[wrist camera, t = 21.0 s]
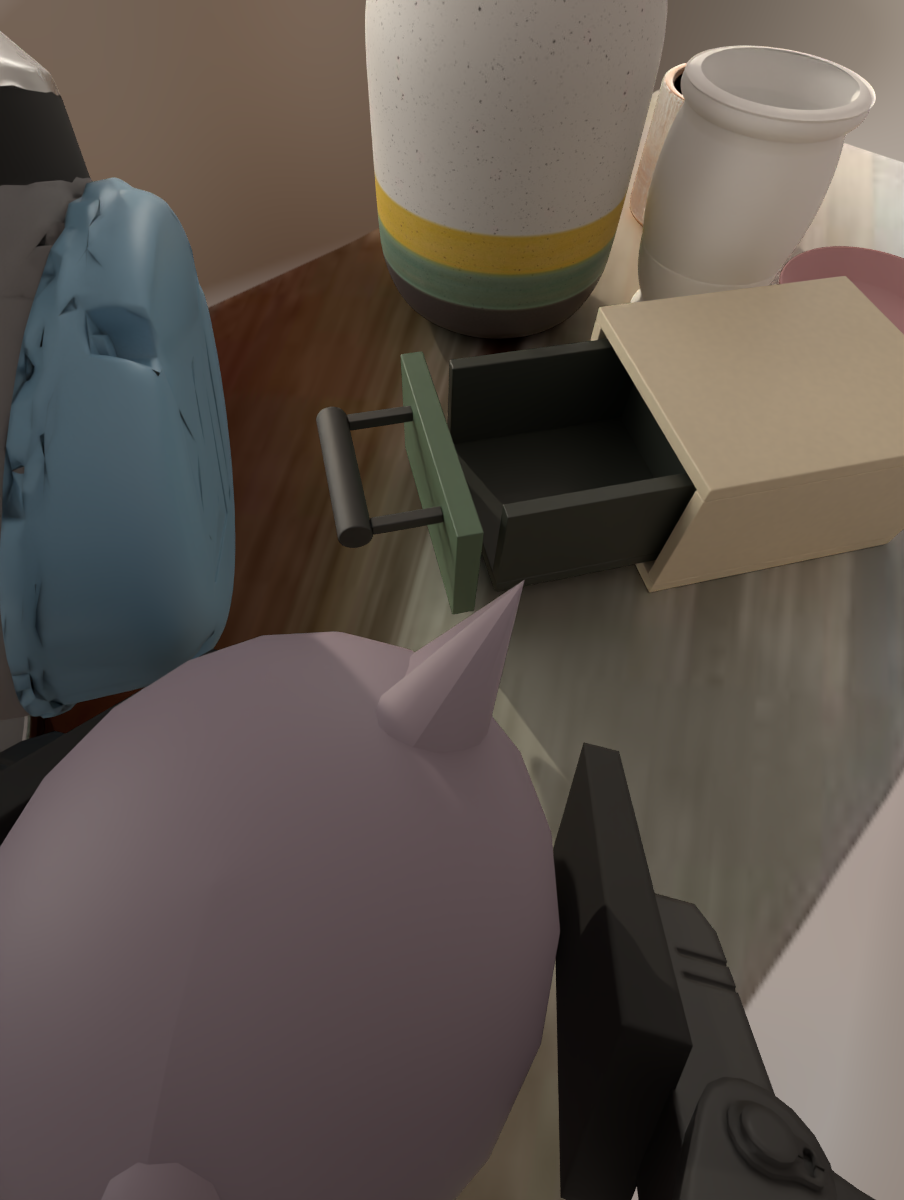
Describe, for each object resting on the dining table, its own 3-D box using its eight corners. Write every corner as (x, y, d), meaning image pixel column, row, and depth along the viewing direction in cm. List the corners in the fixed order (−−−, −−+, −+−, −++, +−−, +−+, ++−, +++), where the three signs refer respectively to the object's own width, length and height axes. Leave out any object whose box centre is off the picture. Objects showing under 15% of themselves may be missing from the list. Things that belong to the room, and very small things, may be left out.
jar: (752, 295, 48) (869, 56, 35) (750, 375, 43) (886, 130, 30) (623, 271, 49) (690, 31, 37) (606, 346, 44) (677, 99, 31)
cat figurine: (319, 717, 18) (166, 401, 8) (565, 833, 16) (794, 638, 6) (130, 1035, 14) (-763, 1299, 3) (433, 1226, 12) (449, 2642, 2)
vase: (626, 351, 44) (799, -175, 23) (402, 377, 42) (374, -180, 21) (559, 230, 52) (643, -238, 32) (370, 245, 50) (327, -245, 30)
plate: (731, 308, 47) (742, 284, 46) (833, 251, 52) (847, 227, 50) (892, 408, 42) (912, 385, 40) (990, 334, 47) (1011, 310, 45)
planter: (767, 218, 55) (827, 88, 46) (709, 265, 50) (764, 131, 42) (666, 176, 58) (705, 48, 50) (603, 217, 54) (635, 84, 46)
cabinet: (648, 593, 33) (710, 490, 26) (567, 425, 40) (598, 306, 33) (887, 544, 36) (1006, 437, 28) (773, 393, 42) (845, 274, 35)
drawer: (358, 634, 30) (340, 558, 25) (325, 459, 36) (305, 366, 31) (702, 565, 33) (759, 482, 27) (619, 414, 39) (651, 320, 34)
